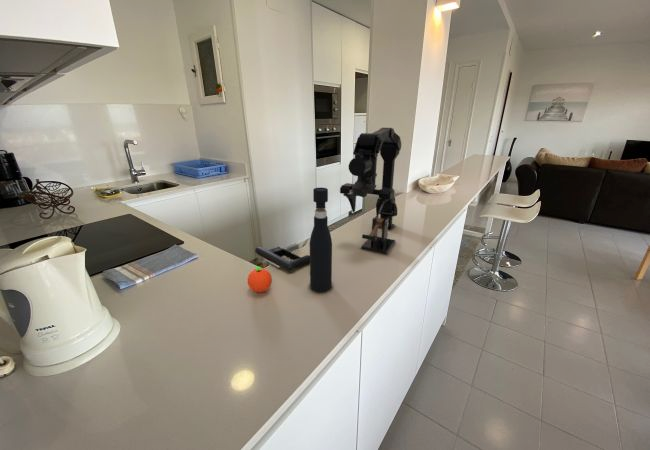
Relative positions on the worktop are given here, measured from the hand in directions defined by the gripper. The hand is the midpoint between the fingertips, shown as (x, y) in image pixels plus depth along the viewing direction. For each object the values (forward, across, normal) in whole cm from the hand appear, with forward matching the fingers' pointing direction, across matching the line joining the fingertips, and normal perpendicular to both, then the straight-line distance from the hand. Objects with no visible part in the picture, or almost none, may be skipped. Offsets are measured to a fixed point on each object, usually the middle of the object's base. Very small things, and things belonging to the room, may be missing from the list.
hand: (365, 213), depth 102 cm
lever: (+7, +4, +1) cm, 8 cm away
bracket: (+15, +4, +6) cm, 17 cm away
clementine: (+15, -17, -40) cm, 46 cm away
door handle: (+15, -22, -20) cm, 33 cm away
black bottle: (+15, -2, -30) cm, 33 cm away
